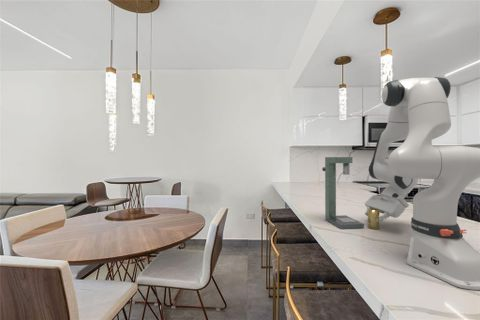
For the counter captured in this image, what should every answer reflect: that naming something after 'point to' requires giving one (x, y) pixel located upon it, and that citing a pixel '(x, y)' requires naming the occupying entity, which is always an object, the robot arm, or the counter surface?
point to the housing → (373, 218)
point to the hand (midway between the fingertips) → (372, 217)
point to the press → (330, 193)
